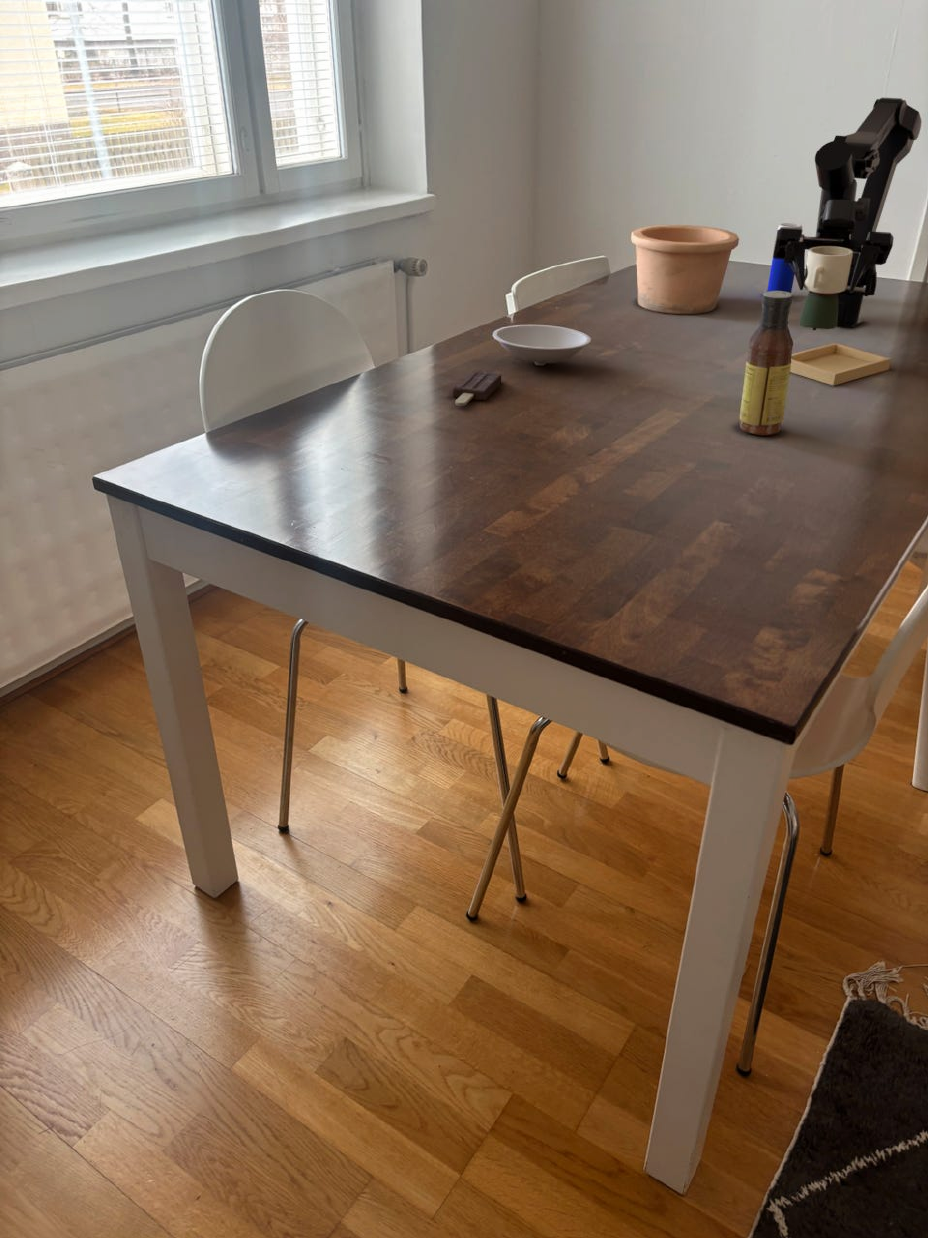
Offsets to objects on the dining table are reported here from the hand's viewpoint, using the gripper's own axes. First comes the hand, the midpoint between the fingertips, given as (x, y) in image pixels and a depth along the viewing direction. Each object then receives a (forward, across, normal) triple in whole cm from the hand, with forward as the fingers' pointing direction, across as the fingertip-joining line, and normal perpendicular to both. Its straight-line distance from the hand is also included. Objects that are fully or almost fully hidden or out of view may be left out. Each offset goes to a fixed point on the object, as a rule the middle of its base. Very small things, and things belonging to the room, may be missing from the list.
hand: (826, 290), depth 162 cm
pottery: (-17, -26, +37) cm, 48 cm away
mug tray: (+10, +4, +9) cm, 14 cm away
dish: (+18, -47, +1) cm, 50 cm away
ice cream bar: (+31, -54, -13) cm, 63 cm away
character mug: (+4, 0, +6) cm, 7 cm away
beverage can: (-26, -5, +46) cm, 53 cm away
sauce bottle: (+33, -9, -15) cm, 38 cm away
